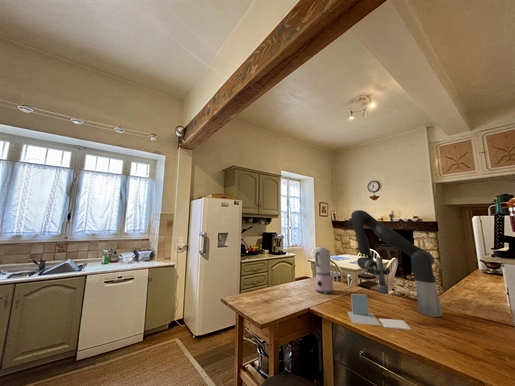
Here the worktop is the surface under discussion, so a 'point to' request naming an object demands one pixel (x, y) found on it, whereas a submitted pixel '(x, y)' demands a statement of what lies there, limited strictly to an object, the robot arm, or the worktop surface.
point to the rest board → (394, 324)
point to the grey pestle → (381, 277)
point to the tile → (359, 304)
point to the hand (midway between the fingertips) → (382, 273)
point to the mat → (363, 319)
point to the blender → (323, 270)
